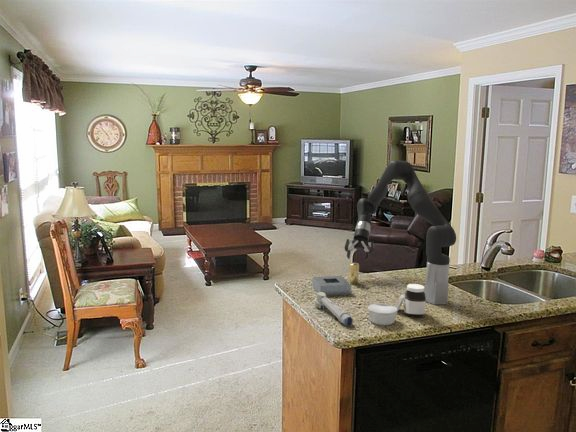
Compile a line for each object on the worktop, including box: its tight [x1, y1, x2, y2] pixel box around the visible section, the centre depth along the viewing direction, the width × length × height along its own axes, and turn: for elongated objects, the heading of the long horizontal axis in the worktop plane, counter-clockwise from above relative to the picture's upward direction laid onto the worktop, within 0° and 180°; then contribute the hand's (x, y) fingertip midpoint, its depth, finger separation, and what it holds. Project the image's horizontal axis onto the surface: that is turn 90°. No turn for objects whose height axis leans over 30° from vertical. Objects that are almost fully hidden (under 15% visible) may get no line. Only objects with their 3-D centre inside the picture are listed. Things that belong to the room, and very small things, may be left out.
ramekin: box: [367, 302, 398, 326], centre depth 185 cm, size 11×11×5 cm
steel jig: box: [312, 275, 352, 296], centre depth 221 cm, size 14×14×4 cm
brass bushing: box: [348, 262, 360, 285], centre depth 232 cm, size 4×4×10 cm
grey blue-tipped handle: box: [314, 292, 354, 327], centre depth 190 cm, size 5×7×25 cm
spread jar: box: [394, 283, 427, 318], centre depth 193 cm, size 12×11×12 cm
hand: (357, 259), depth 237 cm, fingers open, 8 cm apart
